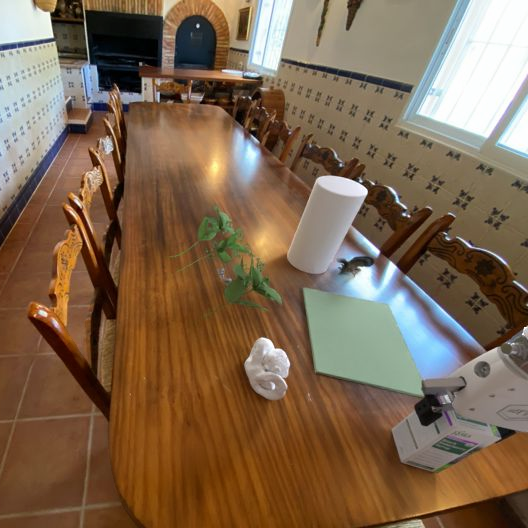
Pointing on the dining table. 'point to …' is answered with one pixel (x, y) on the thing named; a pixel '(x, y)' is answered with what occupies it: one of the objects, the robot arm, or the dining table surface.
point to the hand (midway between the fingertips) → (452, 424)
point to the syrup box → (441, 439)
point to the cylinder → (325, 223)
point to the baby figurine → (267, 369)
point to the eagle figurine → (355, 264)
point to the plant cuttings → (236, 286)
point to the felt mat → (359, 342)
